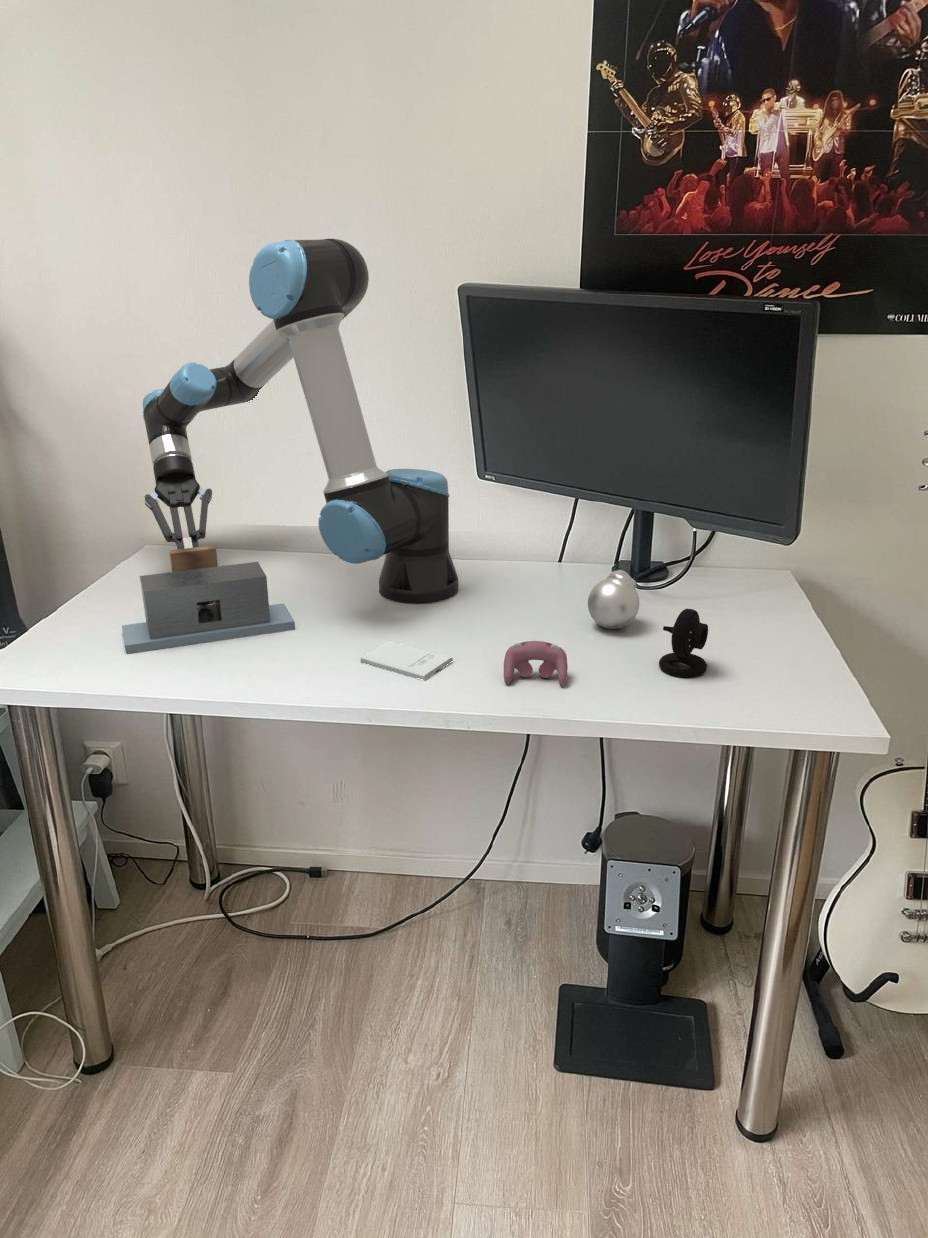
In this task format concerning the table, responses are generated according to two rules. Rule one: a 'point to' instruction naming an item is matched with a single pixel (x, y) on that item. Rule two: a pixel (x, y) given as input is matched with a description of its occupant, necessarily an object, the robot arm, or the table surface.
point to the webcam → (686, 645)
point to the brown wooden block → (194, 560)
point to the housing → (205, 608)
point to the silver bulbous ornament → (614, 601)
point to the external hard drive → (406, 660)
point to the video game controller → (535, 650)
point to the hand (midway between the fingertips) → (192, 571)
